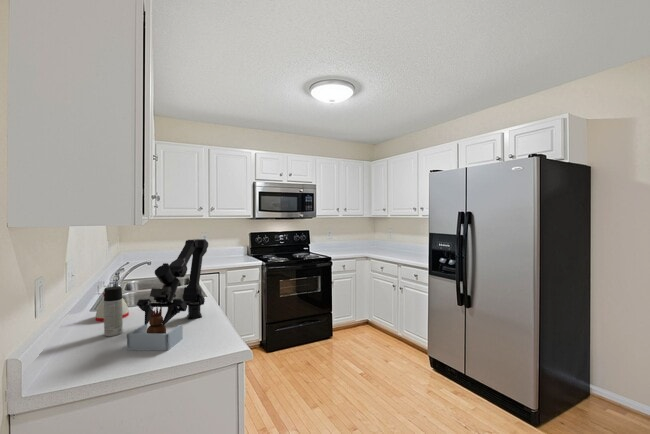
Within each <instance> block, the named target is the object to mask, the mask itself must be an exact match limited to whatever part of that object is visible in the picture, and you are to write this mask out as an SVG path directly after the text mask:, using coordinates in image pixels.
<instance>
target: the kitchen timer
mask: <svg viewBox="0 0 650 434" xmlns="http://www.w3.org/2000/svg"><path fill="white" fill-rule="evenodd" d="M102 295H103V296H104V292H102ZM129 314H130V309H129V307H128V304H127V301H126V300H125V299H124V297H122V319H124V318H127V317H129ZM95 321H97V322H101V323H102V322H103V323H104V298H102V300H101V301H100V302H99V305H98V306H97V308H96V313H95Z"/></svg>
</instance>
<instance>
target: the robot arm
mask: <svg viewBox="0 0 650 434" xmlns="http://www.w3.org/2000/svg"><path fill="white" fill-rule="evenodd" d="M208 247H209V242H208V240H207V239H205V238H201V239H200V238H194V239H187V240H185V243H184V246H183V248H182V249H181V251H180V253H179V255H178V256H177V258H176V259H175V260H173V261H172V262H171V263H170V264H169V263H167V262H164V263H162V265H160V266H158V267H156V269H155V270H154V275H155V276H156V279H158V281H159V282H160V283H161V284H162V286H161V287H153V288H152V287H151V288H150V293H149V297H150V298H151V297H152V298H153V300H154V301H151V300H150V298H140V299H138V300H137V302H136V306H137V307H138V308H139V309H140V310H141V311H142V312H144V324H145V325H147V326H148V324H149V320H150V317H151V313H153V314H154V310H153V309H154V308H160V307H161V306H162V308H167V310H166V312H165V316H164V317H163V323H162V324H163V325H165V326H166V324H167V323H168V322H169V321H170V320H171V319H172V318H173V317H175V316H176V315H177V314H179V313H180V312H186V311H187V312H188V313H187V315H186V317H187V320H191V319H193V320H194V319H199V318H202V317H203V316H202V313H201V306H204V305H205V302H206V301H205V300H206V299H205V297H204V295H203V294H202V293H203V291H202V288H201V286H200V281H201V271H202V264H203V258H204V256H205V255H206V253H207V251H208ZM190 259H191V265H190V266H191V267H190V272H189V279H188V284H187V286H184V288H183V293H182V297H181V298H176V296H177V294H176V292H177V289H178V287H181V286H182V285H181V282H180V279H179V278H184V277H185V276H186V275H187V272H188V263H189V261H190ZM144 324H143V325H144Z"/></svg>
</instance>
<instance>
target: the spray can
mask: <svg viewBox="0 0 650 434" xmlns="http://www.w3.org/2000/svg"><path fill="white" fill-rule="evenodd" d="M103 291H104V292H103V293H104V295H103V299H104V322H103V323H104V325H103V328H104V329H103V333H104V334H103V335H104V337H116V336H119V335H122V333H123V331H124V330H123V328H124V327H123V325H124V324H123V318H122V298H123V288H122V287H121V286H119V285H117V286H108V287H105V288H104V290H103Z"/></svg>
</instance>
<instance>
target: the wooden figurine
mask: <svg viewBox="0 0 650 434" xmlns="http://www.w3.org/2000/svg"><path fill="white" fill-rule="evenodd" d="M162 308H163V307H162V306H161V307H155V309H156V310H153V311H154V313H151V317H150V320H149V322H148V324H149V326H147V333H159V334H167V327H166V324H165V325H163V324H162V323H163V320H164V317H163V316H162V314H163V313H162V310H163V309H162Z"/></svg>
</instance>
